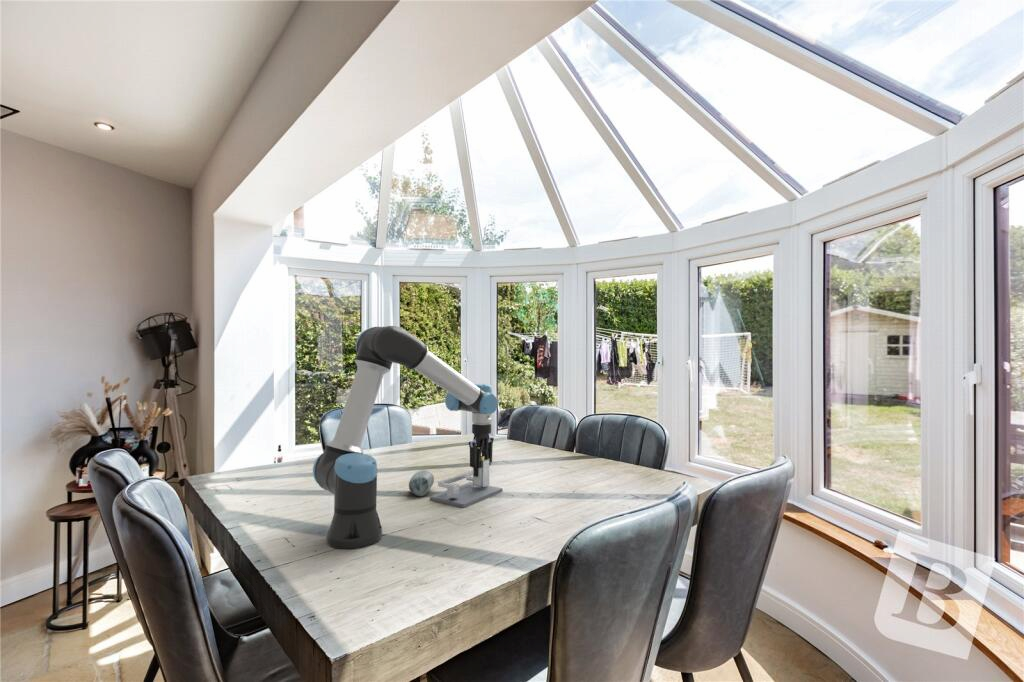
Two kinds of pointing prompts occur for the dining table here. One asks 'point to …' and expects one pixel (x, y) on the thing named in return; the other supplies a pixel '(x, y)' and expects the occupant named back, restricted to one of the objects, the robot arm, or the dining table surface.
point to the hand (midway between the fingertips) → (480, 483)
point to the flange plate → (467, 495)
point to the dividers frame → (453, 484)
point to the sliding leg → (482, 473)
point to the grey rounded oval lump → (421, 482)
